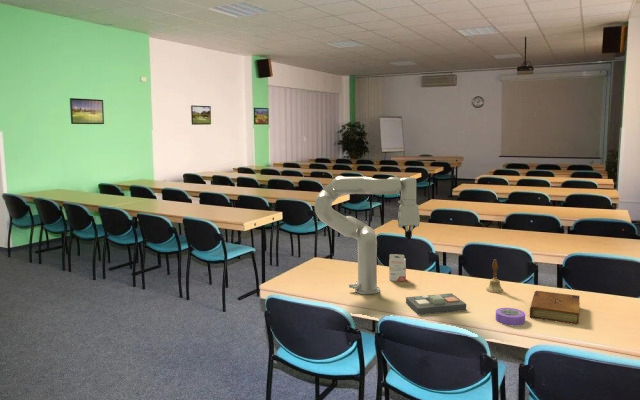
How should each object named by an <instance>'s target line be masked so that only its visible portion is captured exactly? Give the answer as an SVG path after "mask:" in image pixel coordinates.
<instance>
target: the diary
mask: <svg viewBox="0 0 640 400" xmlns="http://www.w3.org/2000/svg"><path fill="white" fill-rule="evenodd" d="M533 292H534V294H533V296H532V299H531V303H530V307H529V318H531V319H537V320H544V321H551V322H556V321H557V323H563V322H564V323H563V324H570V323H572V324H571V325H577V324H579V320H580V319H579V317H580V295H576V294H570V293H569V294H568V293H567V294H566V293H559V292H551V291H543V290H536V291H533ZM579 325H580V324H579Z"/></svg>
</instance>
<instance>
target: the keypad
mask: <svg viewBox="0 0 640 400" xmlns="http://www.w3.org/2000/svg"><path fill="white" fill-rule="evenodd" d="M436 295H440V296H441V297H443V298H444V297H455V298H456V299H458V300H459V302H454V303H447V302H446V301H445V300H444V303H443V304H432V303H431V302H430V301H429V298H430V296H436ZM422 299H426V300H427V301H428V302H429V303H430V305H421V306H418V305H417V304H416V303H415V300H422ZM405 304H406V305H407V306H408V307H409V308H410V309H411V310H412V311H413V312H414V313H415V314H416V315H418V316H419V315H429V314H440V313H442V314H443V313H452V312H463V311H467V303H466V302H464V301H463V300H462V299H460V297H458V296H456V295H455V294H453V293H451V292H450V293H440V294H439V293H438V294H431V295H429V294H428V295H427V294H426V295H417V296H416V295H415V296H406V297H405Z"/></svg>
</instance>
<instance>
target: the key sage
mask: <svg viewBox="0 0 640 400" xmlns="http://www.w3.org/2000/svg"><path fill="white" fill-rule="evenodd" d="M435 295H436V296H430V298H429V301H430V302H431V303H432V304H443V303H444V298H443V297H441V296H440V295H438V294H435Z"/></svg>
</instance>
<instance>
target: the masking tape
mask: <svg viewBox="0 0 640 400" xmlns="http://www.w3.org/2000/svg"><path fill="white" fill-rule="evenodd" d="M495 321H496V322H497V323H499V324H501V323H502V324H501V325H505V324H506V325H505V326H510V325H513V327H514V326H515V327H516V326H518V325H519V326H522V325H524V324H525V323H526V313H525V311H523V310H521V309H518V308H514V307H513V308H512V307H499V308H497V309H496V310H495Z"/></svg>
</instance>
